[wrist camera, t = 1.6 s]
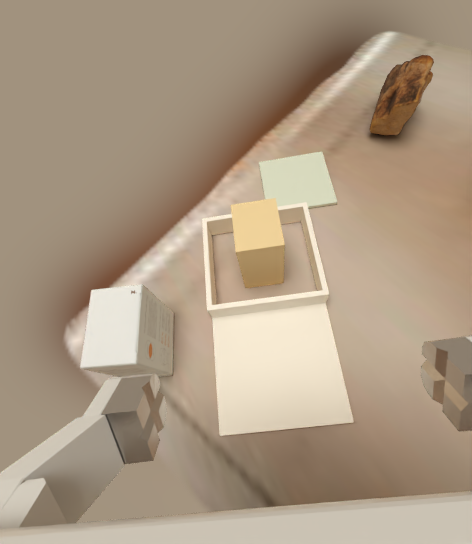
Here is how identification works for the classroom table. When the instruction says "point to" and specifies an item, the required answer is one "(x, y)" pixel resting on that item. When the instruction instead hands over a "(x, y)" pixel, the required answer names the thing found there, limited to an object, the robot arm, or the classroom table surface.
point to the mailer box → (275, 349)
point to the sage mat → (298, 180)
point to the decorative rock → (401, 95)
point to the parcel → (259, 242)
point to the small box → (128, 333)
